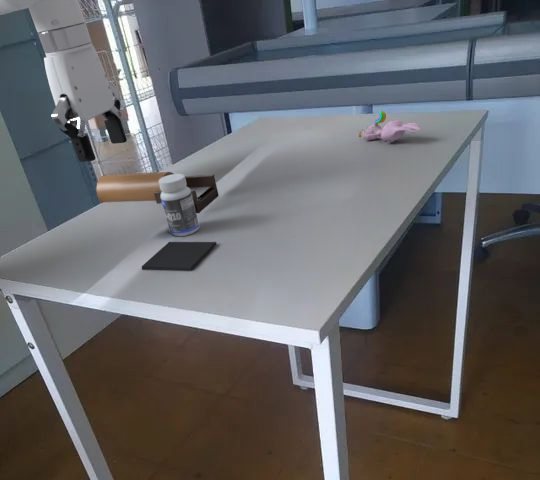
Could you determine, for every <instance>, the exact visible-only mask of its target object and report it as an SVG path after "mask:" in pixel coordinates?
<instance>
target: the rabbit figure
mask: <svg viewBox="0 0 540 480" xmlns="http://www.w3.org/2000/svg"><path fill="white" fill-rule="evenodd" d="M378 113H379V116H378V117H377V118H376V119H375V121H374V123H373V124H372V125H370V126H367V127H366V129H365V130H363V129H361V130H360V129H358V132H357V138H358V139H360V138H362V137H363V140H365V141H368V142H369V141H373V140H377V139H381V141H383V142H387V143H388V144H391V143H395V142H396V141H398V140H400V139H402V138H403V137H404V134H405V132H409V133H413V134H415V133H416V131H422V128H421V125H419V124H418V122H417V123H416V122H408V123H405V122H403V121H400V120H397V119H396V120H393V119H392V120H390V121H388V122H387V123H386V124H385V125H384V126H383V128H382V127H381V125H380V124H383V123H384V122H385V121H386V119H387V114H386V112H385V111H383V110H379V111H378Z"/></svg>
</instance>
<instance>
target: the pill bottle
mask: <svg viewBox="0 0 540 480" xmlns="http://www.w3.org/2000/svg"><path fill="white" fill-rule="evenodd" d="M185 176H186V175H185V174H184V173H173V174H172V175H168V176H165V177H162V178H161V179H159V185H160V189H161V191H163V192H162V193H161V195H160V197H161V201H162V203H161V204H162V207H163V211H164V215H165V219H166V222H167V226H168V230H169V232H170V234H171V235H172V236H174V237H186V236H190V235H192V234H194V233H196V232H197V231H199V229H200V223H199V219H198V213H196V210H195V206H194V202H193V197H192V193H191V190H192V189H191V188H188V187H187V186H186V185H187V183H186V179H185Z"/></svg>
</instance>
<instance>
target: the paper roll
mask: <svg viewBox="0 0 540 480" xmlns="http://www.w3.org/2000/svg"><path fill="white" fill-rule="evenodd" d="M172 174H174V173H173V172H172V171H160V172H159V171H157V172H143V173H142V172H141V173H125V174H123V173H122V174H107V175H106V174H105V175H102V176H100V177H99V178H98V180H97V183H96V195H97V198H98V200H99V202H100V203H121V202H149V201H151V202H153V201H155V202H156V199H155V196H154V192H156V191H161V189H160V185H159V179H161V178H162V177H165V176H168V175H172Z"/></svg>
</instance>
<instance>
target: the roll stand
mask: <svg viewBox="0 0 540 480" xmlns="http://www.w3.org/2000/svg"><path fill="white" fill-rule="evenodd" d="M184 176H185V179H186V183H187V185H186V186H187V187H188V188H190V190H191V193H192V197H193V202H194V206H195V210H196V214H200V213H201V212H202V211H203V210H204V209H205V208H207V207H208V206H209V205H210V204H211V203H212V202H213V201H214V200H215V199H217V198H218V197H219V190H218V187H217V181H216V178H215V174H200V175H199V174H198V175H197V174H196V175H184ZM191 188H207V189H206V190H205V191H204V192H202V193H201V194H200V195H199V196H198V195H197V192H196V189H191ZM162 192H163V191H156V192H154V196H155V199H156V200H155V202H156V204H162V201H161V197H160V195H161V193H162Z"/></svg>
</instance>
